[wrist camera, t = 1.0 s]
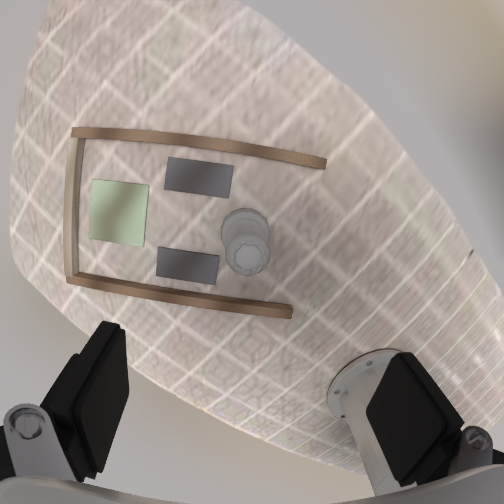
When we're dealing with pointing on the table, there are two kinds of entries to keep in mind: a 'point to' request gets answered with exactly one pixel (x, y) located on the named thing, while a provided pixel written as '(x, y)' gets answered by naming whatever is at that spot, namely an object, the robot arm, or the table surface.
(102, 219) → the wooden u-shaped frame
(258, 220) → the rook chess piece
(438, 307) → the table surface
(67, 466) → the robot arm
